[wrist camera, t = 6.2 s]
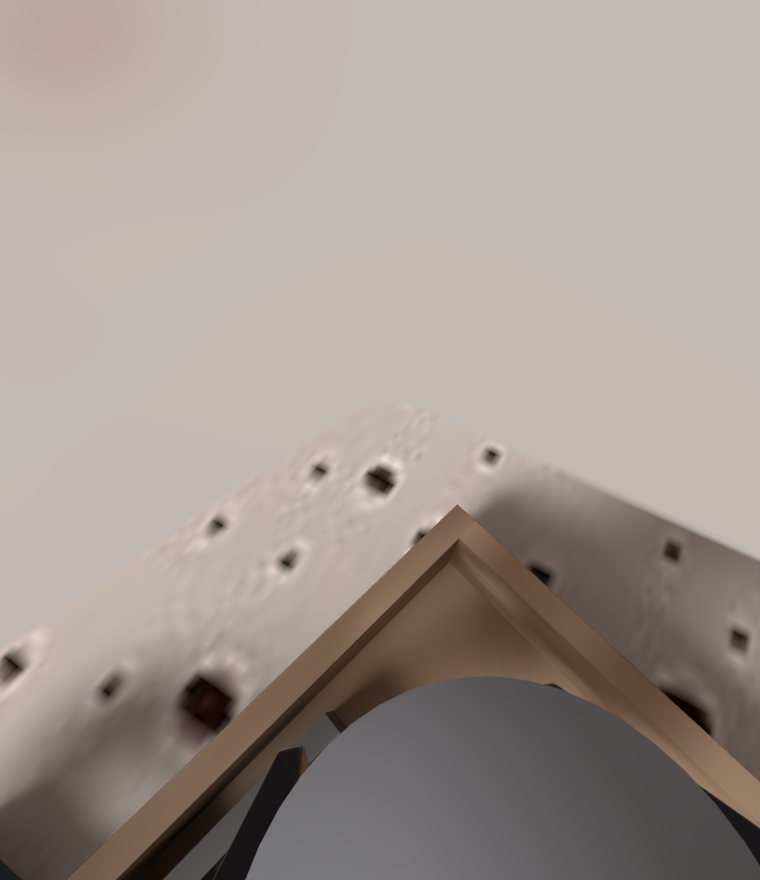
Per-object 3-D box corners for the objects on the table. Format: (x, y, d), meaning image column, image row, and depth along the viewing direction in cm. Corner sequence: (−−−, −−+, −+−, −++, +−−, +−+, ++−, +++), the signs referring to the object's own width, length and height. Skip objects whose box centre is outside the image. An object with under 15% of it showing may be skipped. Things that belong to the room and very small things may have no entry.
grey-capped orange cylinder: (529, 787, 12) (983, 1065, 3) (423, 923, 11) (594, 2218, 2) (424, 663, 14) (491, 578, 4) (320, 772, 13) (96, 982, 3)
